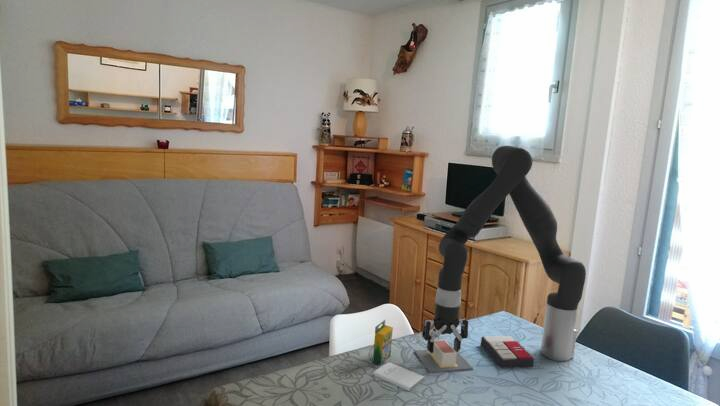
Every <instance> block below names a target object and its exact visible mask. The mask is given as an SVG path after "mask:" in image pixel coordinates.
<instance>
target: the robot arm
mask: <svg viewBox="0 0 720 406" xmlns="http://www.w3.org/2000/svg"><path fill="white" fill-rule="evenodd" d="M533 162H534V161H533V156H532V154H531V152H530V151H529V150H527V149H525V148H522V147H518V146H512V145H502V146H499V147H497V148H496V149H495V151H494V152H493V154H492V156H491V165H492V168H493V170H494V172H495V174H496V175H497V176H495V178H494V180H493V181H492V182H491V184H490V185H489V186H488V187H487V188H486V189H485V190H483V191H482V192H481V193H480V194H479V195H478V196H477V197H476V198H474V199H473V200H472V201H471V202H470V203H469V205H468V206H467V207H466V209H465V210H464V211H463V212H462V214H461V216H460V218H459V219H458V220H457V222H456V223H455V224H454V225H453V226H452V227H451V228H450V229H449V230H448V231H447V232H446V233H445V235H443V237H442V238H441V240H440V242H439V244H438V251H439V254H440V255H441V256H442V258H443V263H442V264H443V265H442V268H441V269H440V270H439V272H438V278H437V279H438V280H437V288H436V289H437V290H436V292H435V294H436V295H435V303H434V304H435V305H434V318H433V319H432V320H430V319H429V320H428V319H427V318H425V319H424V320H423V324H422V325H423V327H422V334H421V337H422V338H423V339H424V340H425V341H427V343H426V345H427V346H426V350H428V351H429V352H430V353H433V349H434V342H433V341H435V340H437V338H439V336H441V335H446V334H447V335H452V333H453V335H454V336H455V337H454V338H453V348H454V350H455V351H456V352H458V353H459V351H460V350H461V345H462V340H464V339H468V336H469V333H468V332H469V320H468V319H466V318H465V317H463V316H462V317H461V318H460V311H461V303H462V283H463V274H464V271H465V268H466V265H467V261H468V248H467V246H466V243H467V242H468V241H469V240H470V239H471V238H475V237H477V235H478V234H479V233H480V232H481V231H482V228H483V227H484V226H485V224H486V223H487V221H488V220H489V219H490V217H491V216H492V214H493V213H494V212H495V210H496V209H498V207H499V206H500V204H501V203H502V202H503V201H504V200H505V199H506V198H507V197H508V196H510V198H511V201H512V202H513V205H514V207H515V209H516V212H517V213H518V215H519V217H520V220H521V221H522V223H523V226H524V227H525V230H526V232H527V233H528V234H529V236H530V239H531V240H532V242H533V245H534V247H535V248H536V250H537V252H538V255H539V259H540V261H541V263H542V267H543V269H544V272H545V274H546V275H547V278H549V279H550V280H551V281H552V282H554V283H556V284H558V289H557V292H551V293H549V294H548V295H547V298H546V307H545V315H544V323H543V328H542V329H543V330H542V337H541V338H542V339H541V346H540V353H541V355H543V356H544V357H545V358H548V359H551V360H552V361H558V362H567V361H570V360H571V359H574V356H575V349H576V342H577V333H578V332H577V331H578V330H577V329H576V321H577V314H578V307H579V304H580V302H581V299H582V297H583V291H584V287H585V284H586V283H585V282H586V278H587V277H586V275H587V272H586V267H585V265H584V263H582V262H581V261H579V260H578V259H574V258H572V257H570V256H567V255H565V254H564V252H563V251H562V249H561V247H560V246H559V243H558V240H557V232H558V222H557V219H556V217H555V214H554V213H553V210H552V208H551V206H550V204H549V203H548V201H547V200H546V199H545V197H544V196H543V195H542V194H541V193H540V192H539V191H538V190H537V189H536V187H535V186H534V185H533V184H532V183H531V182H530V180H529V179H528V177H527V175H528V173H530V171H531V169H532V167H533ZM459 318H460V319H459ZM459 325H460V332H459V330H457V328H458V326H459ZM431 328H432V329H431Z"/></svg>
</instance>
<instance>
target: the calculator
mask: <svg viewBox="0 0 720 406" xmlns="http://www.w3.org/2000/svg"><path fill="white" fill-rule="evenodd" d="M480 347H481V349H482V350H484V351H485V352H486V353H487V354H488V355H489V357H490V359H492V360H493V361H494V363H496V365H497V366H499V368H500V369H512V368H515V369H517V368H518V369H519V368H533V367H534V363H535V359H534V357H533V356H532V355H531V354H530V353H529V351H527V350H526V349H525V348H524V347H523V346H522V345H521V344H520V343H519V342H518V341H517V340H515V338H513V337H512V336H511V335H494V336H493V335H486V336H481V341H480Z"/></svg>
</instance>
